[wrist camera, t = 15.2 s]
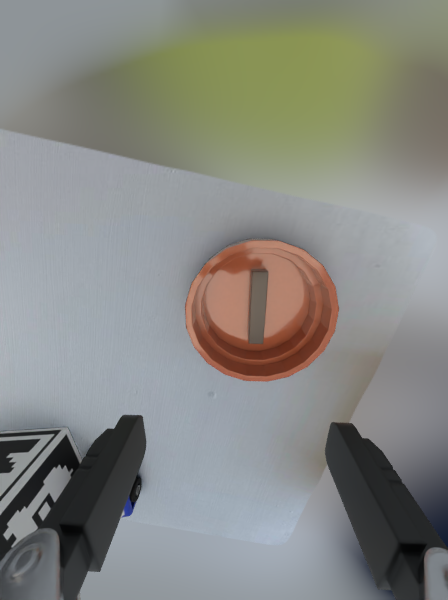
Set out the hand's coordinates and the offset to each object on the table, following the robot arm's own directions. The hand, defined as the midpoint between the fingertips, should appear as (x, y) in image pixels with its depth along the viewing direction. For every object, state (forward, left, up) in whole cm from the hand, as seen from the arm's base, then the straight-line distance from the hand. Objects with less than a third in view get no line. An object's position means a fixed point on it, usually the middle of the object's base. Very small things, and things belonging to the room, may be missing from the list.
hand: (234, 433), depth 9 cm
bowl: (+2, +3, -22) cm, 22 cm away
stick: (+2, +3, -21) cm, 22 cm away
